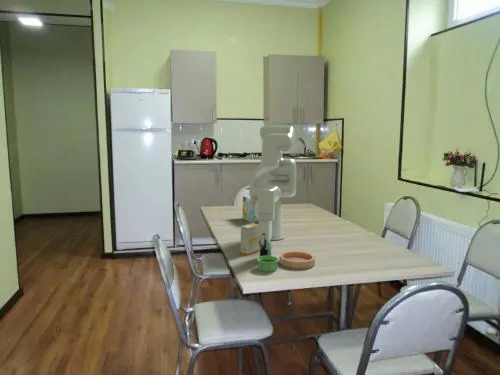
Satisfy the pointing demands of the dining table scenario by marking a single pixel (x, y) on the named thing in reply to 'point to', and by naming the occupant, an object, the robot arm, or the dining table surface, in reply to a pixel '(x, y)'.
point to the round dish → (297, 260)
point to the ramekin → (267, 263)
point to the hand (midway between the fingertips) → (265, 255)
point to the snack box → (250, 210)
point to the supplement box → (249, 238)
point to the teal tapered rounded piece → (268, 247)
